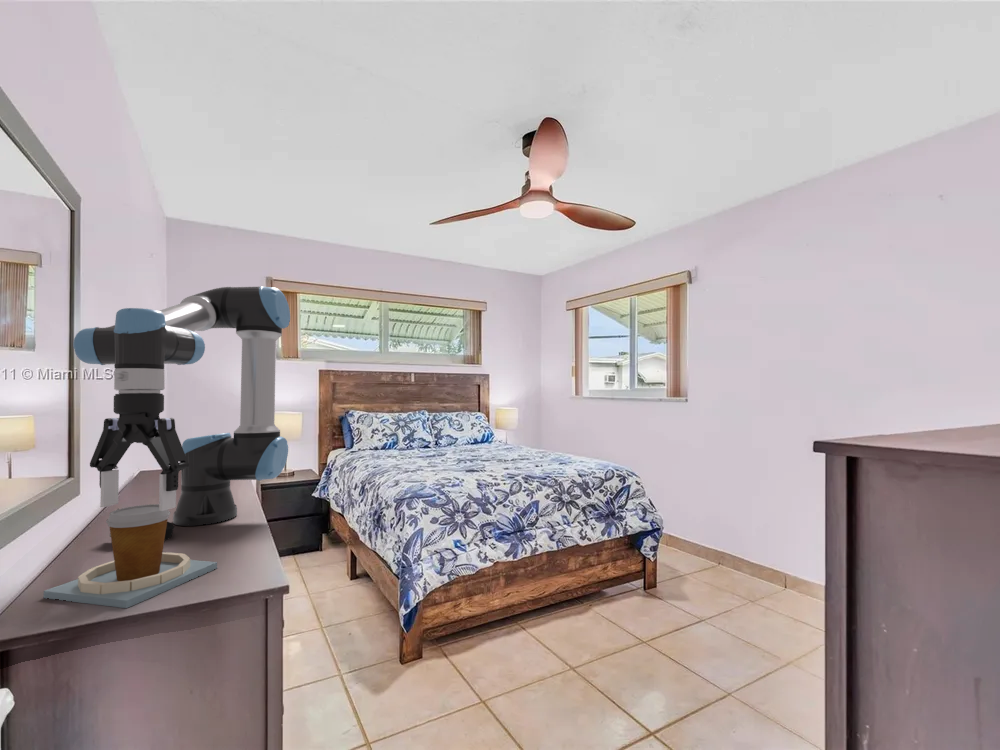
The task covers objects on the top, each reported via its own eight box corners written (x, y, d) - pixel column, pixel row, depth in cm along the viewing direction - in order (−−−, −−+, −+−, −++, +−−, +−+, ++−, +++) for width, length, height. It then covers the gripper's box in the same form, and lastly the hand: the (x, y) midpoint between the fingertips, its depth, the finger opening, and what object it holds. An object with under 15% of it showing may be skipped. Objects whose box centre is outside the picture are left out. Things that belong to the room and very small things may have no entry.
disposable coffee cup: (181, 569, 91) (182, 505, 92) (126, 589, 82) (127, 518, 83) (148, 563, 95) (149, 502, 95) (92, 581, 86) (93, 513, 86)
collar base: (144, 561, 99) (144, 548, 99) (217, 568, 95) (217, 554, 95) (43, 598, 82) (43, 582, 82) (126, 608, 78) (126, 591, 78)
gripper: (66, 393, 89) (64, 508, 88) (175, 391, 83) (174, 515, 82) (108, 392, 96) (106, 499, 96) (211, 391, 90) (210, 505, 90)
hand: (138, 507), depth 89 cm, fingers open, 13 cm apart
